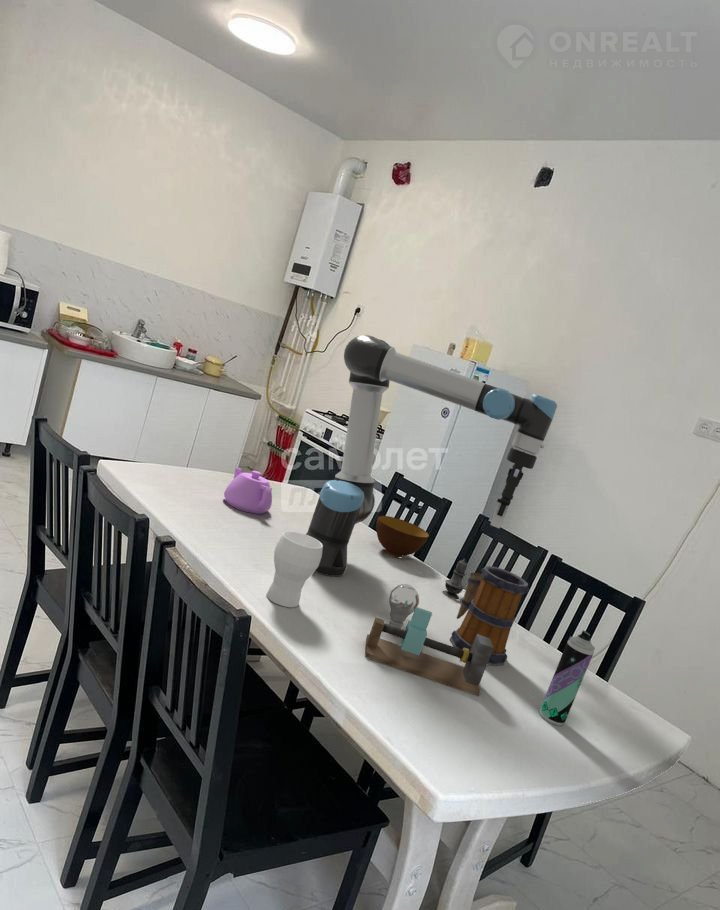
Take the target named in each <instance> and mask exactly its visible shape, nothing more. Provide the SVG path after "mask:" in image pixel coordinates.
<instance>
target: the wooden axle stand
mask: <svg viewBox="0 0 720 910" xmlns="http://www.w3.org/2000/svg"><path fill="white" fill-rule="evenodd" d="M382 633H385V634H388V635H391V636H394V637H397V638H399V639H405V636H406V633H407V631H406V630H405V629H402V628H401V629H400V628H397V627H394V626H391V625H388V623H386V622H385V619H383V618H380V617H377V616H375V618H374V620H373V623H372V626H371V629H370V632H369V634H368V633H367V635H366V637H365V649H364V658H365V659H368V660H371V661H375V662H376V663H377V662H378V663H381V664H384V665H387V666H390V667H393V668H395V669H398V670H401V671H404V672H407V673H410V674H414V675H416V676H419V677H421V678H424V679H427V680H431V681H433V682H436V683H439V684H443V685H446V686H449V687H451V688H454V689H457V690H459V691H463V692H466V693H469V694H471V695H474V696H477V697H479V696H480V693H481V690H480V687H479V686H480V684H481V681H482V679H483V676H484V674H485V671H486V668H487V666H488V665H487V663H488V661H489V658H490V656H491V653H492V651H493V645H492V642H491V640H490V638H487V637H485V636H482V635H479V634H477V635H476V638H475V640H474V643H473V645H472V648H471V650H470V652H469V649H467V648H463V649H462V650H461V649H458V648H455V647H453V645H449V644H447V643H444V642H440V641H438V640H435V639H433V638H432V639H431V638H429V637H426V639H425V641H424V644H423V647H426V648H429V649H432V650H435V651H438V652H440V653H443V654H447V655H449V656H452V657H456V658H458V659H459V662H461V663H464V666H463V665H460V664H457V663H453V662H451V661H449V660H444V659H443V658H442V659H441V658H439V657H436V656H433V655H431V654H427V653H425V652H422V651H421V652H420V655H416V654H413V653H410V652H407V651H404V650H401V644H398V643H396V642H393V641H391V640H390V641H389V640H387V639H383V638H381V635H382Z"/></svg>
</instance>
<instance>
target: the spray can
mask: <svg viewBox="0 0 720 910" xmlns="http://www.w3.org/2000/svg"><path fill="white" fill-rule="evenodd" d="M566 642H567V643H566V645H565V647H564V650H563V652H562V654H561V656H560V659H559V661H558V664H557V666H556V669H555V672H554V674H553V677H552V678H551V681H550V683H549V687H548V689H547V691H546V693H545V695H544V699H543V701H542V703H541V705H540V707H539V711H538V714H539V716H540V717H541V718H542V719H543V720H544V721H546V722H547V723H549V724H551V725H554V726H558V727H563V726H564V725H565V723H566V721H567V718H568V716H569V713H570V711H571V710H572V709H571V708H572V706H573V704H574V702H575V699H576V697H577V694H578V691H579V689H580V687H581V685H582V682H583V679H584V677H585V675H586V672H587V670H588V667H589V665H590V663H591V661H592V659H593V656H594V653H595V652H594V651H595V646H594V645H593V644H592V643H591V642H592V640H591V634H590V633H589V632H588V631H586V630H581V633H579V634H577V636H569V638H568V640H567V641H566Z"/></svg>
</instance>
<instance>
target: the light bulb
mask: <svg viewBox="0 0 720 910" xmlns="http://www.w3.org/2000/svg"><path fill="white" fill-rule="evenodd" d="M388 601H389V607H390V612H389V617H390V618H389V620H388V622H387V624H388V625H391V626H394V627H397V628H400V629H402V627H403V625H404V623H405V621H406V620H407V619H408V617H409V616H410V615H411V614H413V613H414V610H415V608H416V607H418V608H419V605H420V596H419V593H418V591H417V589H416V588H415V587H414V586H412V585H411V584H407V583H401V584H399V585H398V584H397V586H395V587H393V588H392V589H391V592H390V593H389V599H388Z"/></svg>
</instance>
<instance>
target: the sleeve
mask: <svg viewBox="0 0 720 910" xmlns="http://www.w3.org/2000/svg"><path fill="white" fill-rule="evenodd" d="M432 616H433V611H430V610H428V609H427V610H426V609H423V608H421V607H419V606H418V607H416V608H415V610H414V612H413V613H412V616H411V618H410V620H407V623H406V625H405V628H404V630H406V631H407V633H406V636H405V639H402V638H400V645H401V650H404V651H407V652H410V653H413V654H416V655H420V652H422V650H423V647H424V646H423V644H424V641H425V639H426V638H427V636H428V631H427V629H428V626H429V625H430V624H429V623H430V621H431V618H432Z"/></svg>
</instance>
